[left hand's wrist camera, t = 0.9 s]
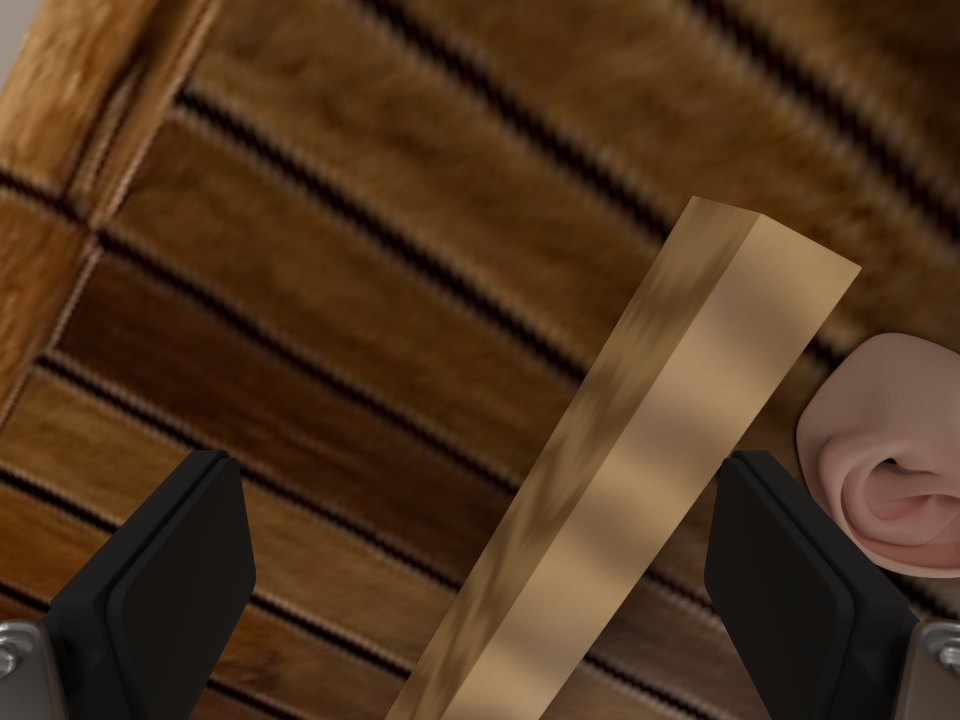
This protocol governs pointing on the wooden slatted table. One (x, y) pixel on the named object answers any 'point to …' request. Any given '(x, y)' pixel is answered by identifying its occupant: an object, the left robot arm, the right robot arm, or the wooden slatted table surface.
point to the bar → (628, 459)
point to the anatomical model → (890, 453)
